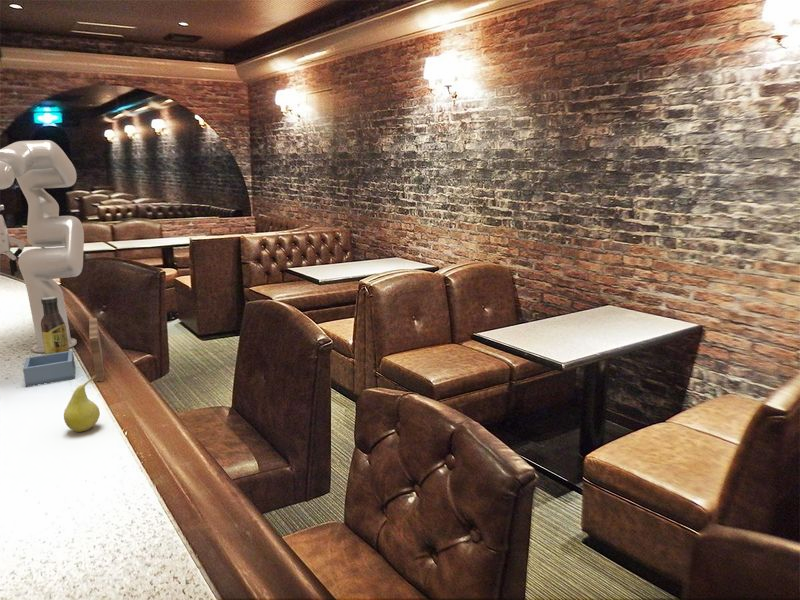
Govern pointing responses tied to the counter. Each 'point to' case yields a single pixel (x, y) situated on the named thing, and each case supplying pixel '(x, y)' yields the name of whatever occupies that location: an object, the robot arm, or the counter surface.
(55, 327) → the sauce bottle
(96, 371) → the back board
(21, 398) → the counter surface
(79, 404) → the fruit
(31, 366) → the caddy
